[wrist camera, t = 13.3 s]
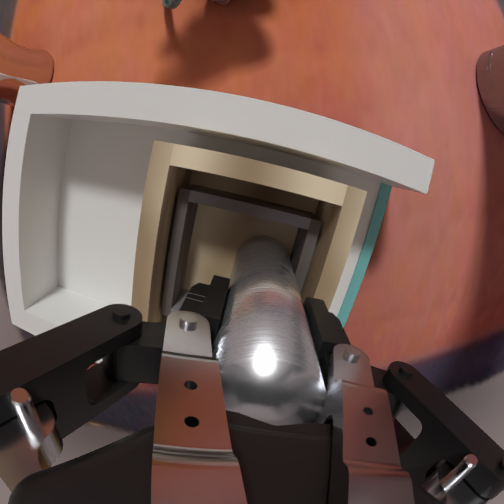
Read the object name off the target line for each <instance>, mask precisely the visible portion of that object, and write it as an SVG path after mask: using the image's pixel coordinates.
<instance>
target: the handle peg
mask: <svg viewBox="0 0 504 504" xmlns="http://www.w3.org/2000/svg"><path fill="white" fill-rule="evenodd" d="M229 279H230V284H229V288H228V292H227V296H226V300H225V304H224V308H223V312H222V316H221V320H220V324H219V328H218V332H217V336H216V338H215V340H214V342H213V344H212V356H213V357H216V358H218V360H219V367H220V374H221V382H222V389H223V396H224V403H225V409H226V410H228V411H233V412H238V413H241V414H243V415H246V416H249V417H251V418H254V419H257V420H260V421H263V422H266V423H269V424H272V425H276V426H280V425H292V424H302V423H314V421H315V420H316V418H317V416H318V415H319V413H320V411H321V410H322V408H323V406H324V404H325V401H326V397H327V393H326V389H325V385H324V381H323V377H322V373H321V369H320V365H319V361H318V358H317V354H316V350H315V346H314V343H313V339H312V335H311V331H310V328H309V324H308V320H307V317H306V313H305V310H304V306H303V303H302V299H301V296H300V292H299V289H298V285H297V282H296V278H295V275H294V271H293V268H292V264H291V261H290V258H289V254H288V252H287V250H286V248H285V246H284V245H283V244H282V243H281V242H280V241H278V240H277V239H275V238H273V237H270V236H263V235H261V236H254V237H252V238H249V239H248V240H246V241H245V242H244V243H242V244H241V246H240V247H239V248H238V250H237V252H236V256H235V259H234V263H233V267H232V270H231V274H230V278H229Z"/></svg>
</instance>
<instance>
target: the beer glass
mask: <svg viewBox="0 0 504 504" xmlns="http://www.w3.org/2000/svg"><path fill="white" fill-rule="evenodd" d="M53 68H54V63H53V58H52V56H51V54H50V53H49V52H47V51H45V50H41V49H31V48H25V47H22V46H20V45H18V44H16V43H14V42H13V41H11V40H10V39H8V38H7V37H5V36H4V35H3V34H1V33H0V103H5V104H7V105H10V106H12V107H14V108H15V104H16V99H17V95H18V91H19V88H20V86H24V85H33V84H44V83H50V81H51V78H52V74H53Z"/></svg>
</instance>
